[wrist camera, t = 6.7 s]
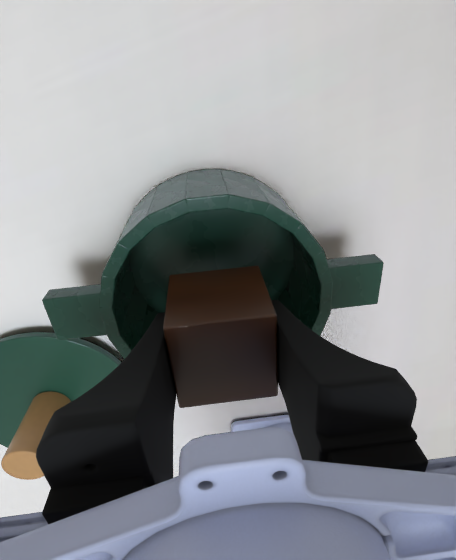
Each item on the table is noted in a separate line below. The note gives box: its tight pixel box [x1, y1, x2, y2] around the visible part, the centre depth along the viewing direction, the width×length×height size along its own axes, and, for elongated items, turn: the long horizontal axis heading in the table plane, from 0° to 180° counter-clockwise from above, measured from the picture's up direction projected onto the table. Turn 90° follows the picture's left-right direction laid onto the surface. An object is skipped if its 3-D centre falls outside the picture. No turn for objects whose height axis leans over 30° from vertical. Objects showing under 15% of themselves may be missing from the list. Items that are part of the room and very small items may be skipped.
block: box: [163, 266, 278, 408], centre depth 15 cm, size 4×4×4 cm
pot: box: [42, 169, 383, 359], centre depth 19 cm, size 11×16×5 cm
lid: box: [0, 332, 121, 480], centre depth 23 cm, size 12×12×6 cm
